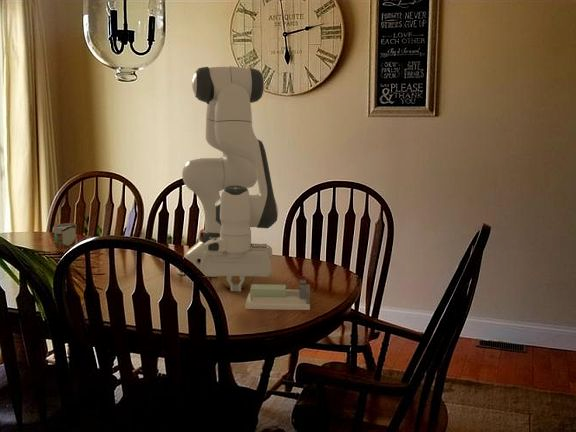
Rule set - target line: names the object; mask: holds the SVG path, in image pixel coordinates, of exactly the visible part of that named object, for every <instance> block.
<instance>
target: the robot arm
mask: <svg viewBox="0 0 576 432" xmlns="http://www.w3.org/2000/svg"><path fill="white" fill-rule="evenodd" d="M191 82H192V83H191V87H192V91H193V93H194V97H195V98H196V99H197V100H198V101H200V102H203V103H206V104H207V105H206V115H205V118H206V119H205V140H206V142H207V144H208V145H209V146H210V147H212V148H214V149H215V150H218V151H220V152H222V157H206V158H205V157H203V158H202V157H201V158H197V159H195V158H194V159H192V160H188V161H187V162H186V163H185V164H184V166H183V168H182V173H181V174H182V175H181V176H182V181H183V184H185V186H186V187H187V188H188V189H189V190H191V192H193V193H194V194H195V195H196V196H197V198H198V199H199V201H200V203H201V205H202V207H203V213H204V214H203V215H204V228H202V229H200V231H199V233H198V240H199V241H198V242H196V243H195V244H194V245H193V246H191V247H190V248H189V249H188V250H187V251H186V252H185V253H184V256H183V258H184V257H185V258H186V259H188V260H189V261H191V262H192V263H193V264H194V265H195V266H196V267H197V268H199V269H200V271H201V272H202V273H203V274H204V275H205V276H204V277H212V278H217V276H227V281H228V283H229V284H230V285H231V288H230V292H241V291H242V288H241V285H242V283H243V281H244V280H245V276H255V277H264V278H265V277H269V276H271V273H272V265H271V259H272V257H273V248H272V247H271V246H270V245H268V244H267V243H252V230H251V228H257V229H269V228H270V227H272V226H273V225H275V223H276V222H277V221H278V217H279V208H278V204H277V201H276V198H275V192H274V189H273V183H272V177H271V172H270V168H269V161H268V158H267V156H268V155H267V152H266V149H265V145H264V144H263V141H261V140H260V139H258V137H257V136H256V134H255V132H254V129H253V115H252V112H253V111H252V105H251V104H254V103H256V102H258V101H259V100H261V99H262V97H263V94H264V92H265V80H264V75H263V74H262V71H260V70H258V69H256V68H252V67H248V68H247V67H246V68H245V67H239V66H232V65H231V66H213V67H208V66H203V67H202V66H201V67H199V68H197V70H195V72H194V74H193V78H192V81H191ZM256 184H257V185H258V192H259V193H258V194H257V193H256V194H250V191H249V188H253V187H254V186H255V185H256ZM220 194H221V195H220ZM175 272H176V274H178V275H183V276H185V275H184V274H183V273H181V272H180V271H179V270H178V269H177V268H176V271H175ZM232 276H240V280H241V281H240V283H239V284H233V282H232V280H231V279H232Z"/></svg>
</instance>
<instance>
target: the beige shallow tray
mask: <svg viewBox="0 0 576 432" xmlns="http://www.w3.org/2000/svg"><path fill="white" fill-rule="evenodd" d="M310 287H311V285H310V284H307V279H299V289H287V288H286V297H253V301H250V291H249V292H248V294H247V297H246V302H245V310H287V311H289V310H291V311H292V310H295V311H298V310H300V311H301V310H302V311H310V310H311V290H310V289H311V288H310Z"/></svg>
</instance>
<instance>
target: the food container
mask: <svg viewBox="0 0 576 432" xmlns="http://www.w3.org/2000/svg"><path fill="white" fill-rule="evenodd" d="M52 233H53V234H54V241H55V249H56V248H58V249H67V248H69V247H70V246H73V245H75V244H76V243H77V239H76V237H77V224H76V222H70V223H69V222H67V223H59V224H55V225H53V227H52ZM76 245H77V244H76Z"/></svg>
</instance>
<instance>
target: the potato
mask: <svg viewBox="0 0 576 432" xmlns="http://www.w3.org/2000/svg"><path fill="white" fill-rule="evenodd" d="M255 277H256V276H245V280H244V281H243V283H242V285H241V289H245V288H247V287H248V286H250V285H252V284H253V283H252V282H254V280H255ZM216 279H217V280H218V282H219V283H221V285H224V286H225V287H227V288H229V289H231V285H230V284H229V283H228V281H227V276H217V277H216ZM231 280H232V282H233V284H239V283H240V281H241V280H240V276H232V279H231Z"/></svg>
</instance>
